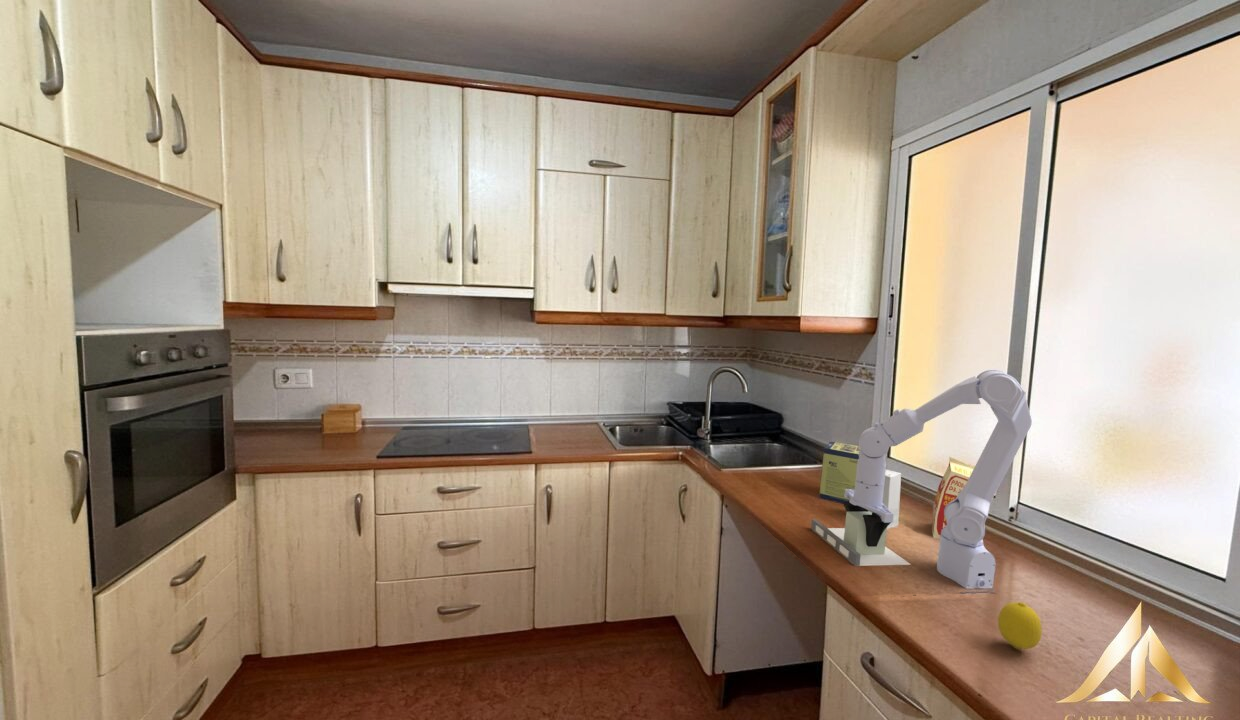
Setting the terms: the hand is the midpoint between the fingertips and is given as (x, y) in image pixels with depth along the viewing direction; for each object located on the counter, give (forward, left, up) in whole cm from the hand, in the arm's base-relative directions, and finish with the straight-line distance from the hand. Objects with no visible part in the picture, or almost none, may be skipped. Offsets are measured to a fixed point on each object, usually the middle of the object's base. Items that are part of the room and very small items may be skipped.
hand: (863, 540), depth 112 cm
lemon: (-32, -6, -4) cm, 33 cm away
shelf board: (+2, 0, -3) cm, 4 cm away
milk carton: (+9, -31, -4) cm, 32 cm away
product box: (0, 0, -2) cm, 2 cm away
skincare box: (+15, -14, -4) cm, 21 cm away
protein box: (+33, -18, -4) cm, 38 cm away
